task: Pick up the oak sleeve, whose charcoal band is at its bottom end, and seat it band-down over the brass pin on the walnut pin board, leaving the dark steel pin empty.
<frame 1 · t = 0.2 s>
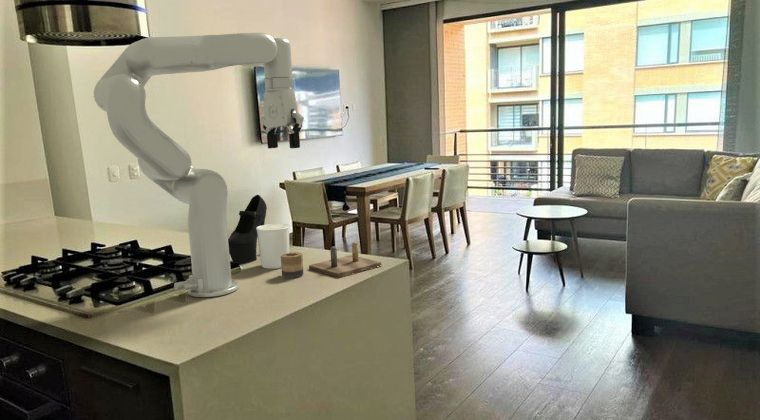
hand: (283, 148, 153), 36 cm above the worktop, tool pointing down, fingers open, 9 cm apart
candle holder: (275, 265, 167), on the worktop
pin board: (345, 267, 161), on the worktop
sleeve: (292, 275, 155), on the worktop
high-heeled shoe: (251, 259, 176), on the worktop
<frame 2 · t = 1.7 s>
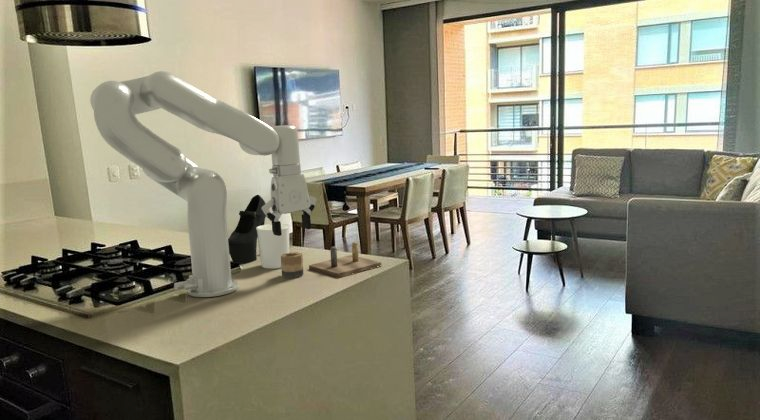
hand: (292, 231, 153), 12 cm above the worktop, tool pointing down, fingers open, 9 cm apart
nothing on the worktop moved.
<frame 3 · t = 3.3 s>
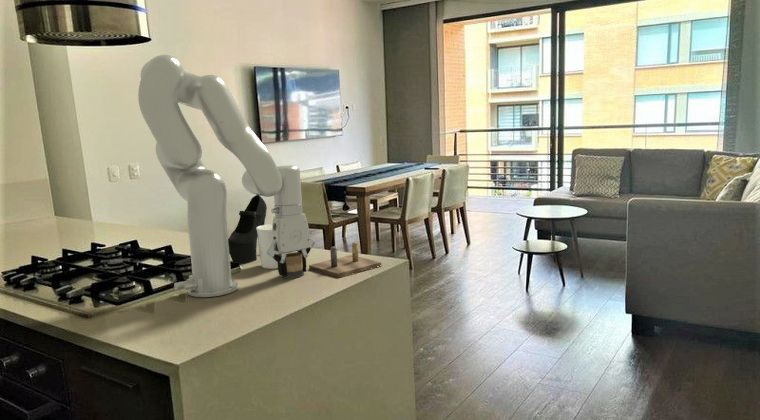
hand: (292, 272, 155), 1 cm above the worktop, tool pointing down, fingers closed on sleeve, 5 cm apart
sleeve: (292, 275, 155), on the worktop, touching gripper
everything else where it was.
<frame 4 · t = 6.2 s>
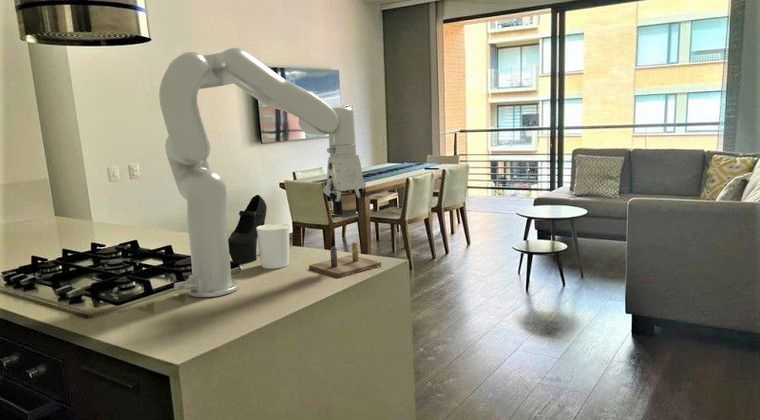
hand: (346, 212, 160), 16 cm above the worktop, tool pointing down, fingers closed on sleeve, 5 cm apart
sleeve: (346, 214, 160), point 16 cm above the worktop, touching gripper
everything else where it was.
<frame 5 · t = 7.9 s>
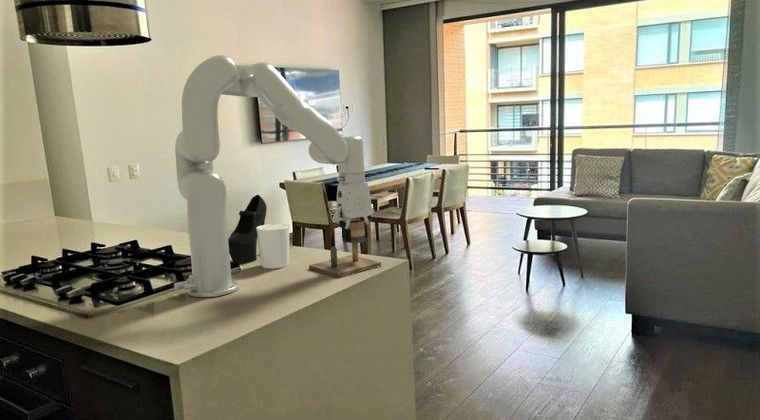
hand: (355, 238, 163), 8 cm above the worktop, tool pointing down, fingers closed on sleeve, 5 cm apart
sleeve: (355, 241, 163), point 7 cm above the worktop, touching gripper
everything else where it was.
when the fingers open (4 cm above the worktop, at t = 9.1 s): sleeve drops 2 cm, resting on pin board.
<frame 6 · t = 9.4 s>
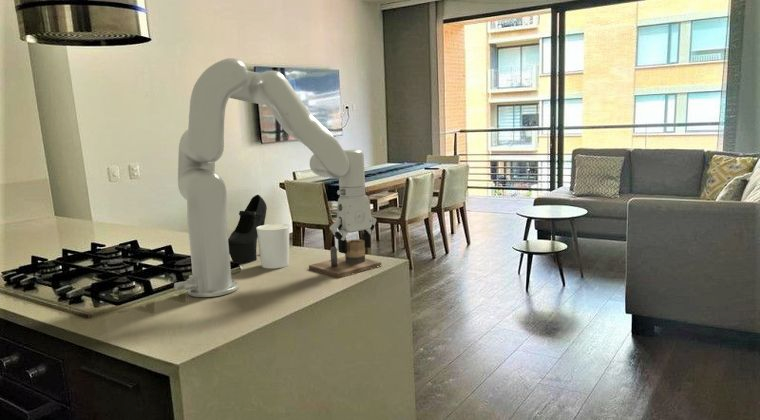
hand: (355, 249, 163), 5 cm above the worktop, tool pointing down, fingers open, 8 cm apart
sleeve: (355, 261, 163), point 1 cm above the worktop, touching pin board
everything else where it was.
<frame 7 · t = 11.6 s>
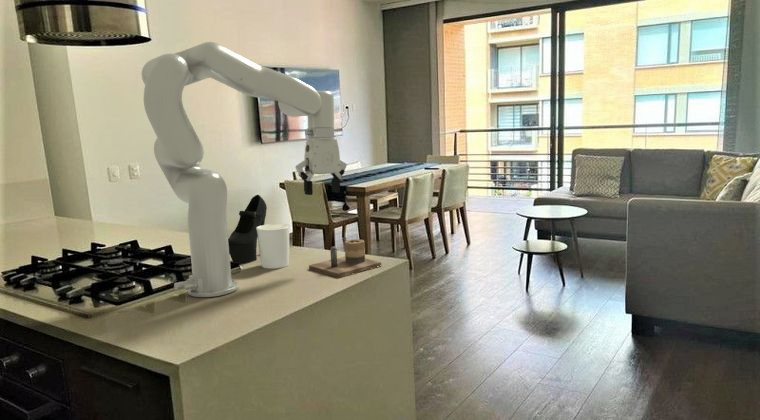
hand: (322, 193, 161), 22 cm above the worktop, tool pointing down, fingers open, 9 cm apart
nothing on the worktop moved.
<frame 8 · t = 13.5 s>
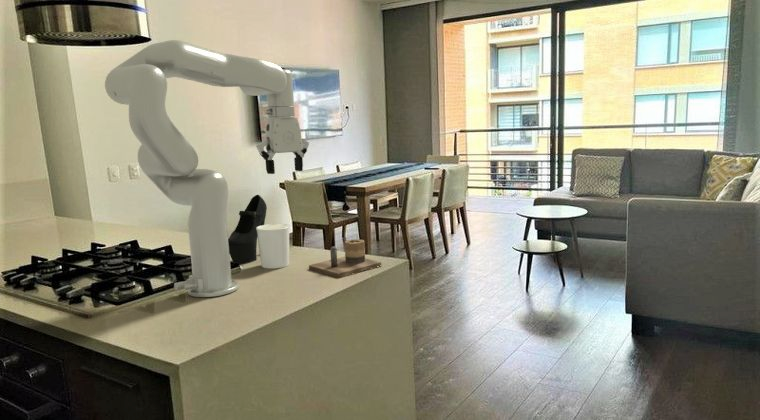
hand: (285, 172, 162), 28 cm above the worktop, tool pointing down, fingers open, 9 cm apart
nothing on the worktop moved.
at the end: sleeve 0.0 cm from the target spot on the pin board, point 1.2 cm above the pin board's base; sleeve tilted 0°; the gripper is holding nothing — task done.
